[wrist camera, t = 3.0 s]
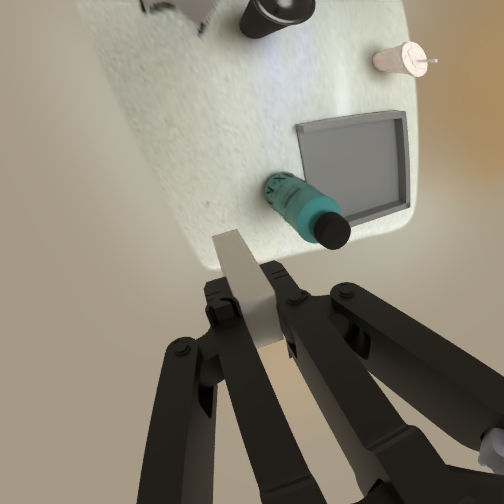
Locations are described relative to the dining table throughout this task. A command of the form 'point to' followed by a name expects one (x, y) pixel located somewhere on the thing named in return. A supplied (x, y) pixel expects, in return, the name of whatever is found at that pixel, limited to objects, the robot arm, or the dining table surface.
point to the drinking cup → (274, 16)
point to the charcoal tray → (359, 162)
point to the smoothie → (403, 60)
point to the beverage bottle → (308, 210)
